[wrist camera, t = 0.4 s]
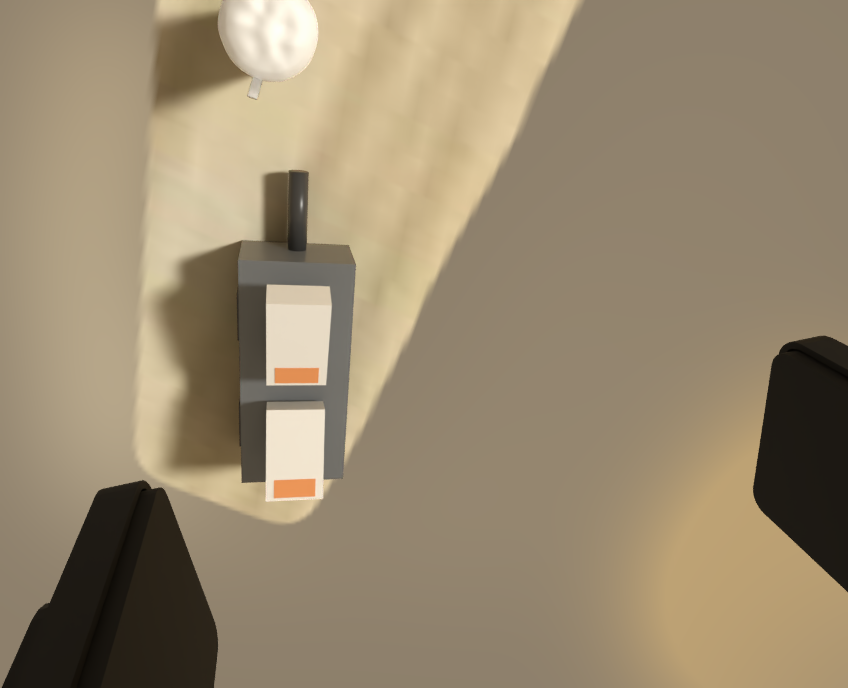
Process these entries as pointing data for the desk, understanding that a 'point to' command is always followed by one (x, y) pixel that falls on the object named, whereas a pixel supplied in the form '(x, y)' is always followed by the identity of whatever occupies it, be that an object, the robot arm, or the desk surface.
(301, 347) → the rocker
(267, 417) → the rocker
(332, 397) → the rocker switch panel
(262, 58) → the milkshake
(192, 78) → the desk surface
